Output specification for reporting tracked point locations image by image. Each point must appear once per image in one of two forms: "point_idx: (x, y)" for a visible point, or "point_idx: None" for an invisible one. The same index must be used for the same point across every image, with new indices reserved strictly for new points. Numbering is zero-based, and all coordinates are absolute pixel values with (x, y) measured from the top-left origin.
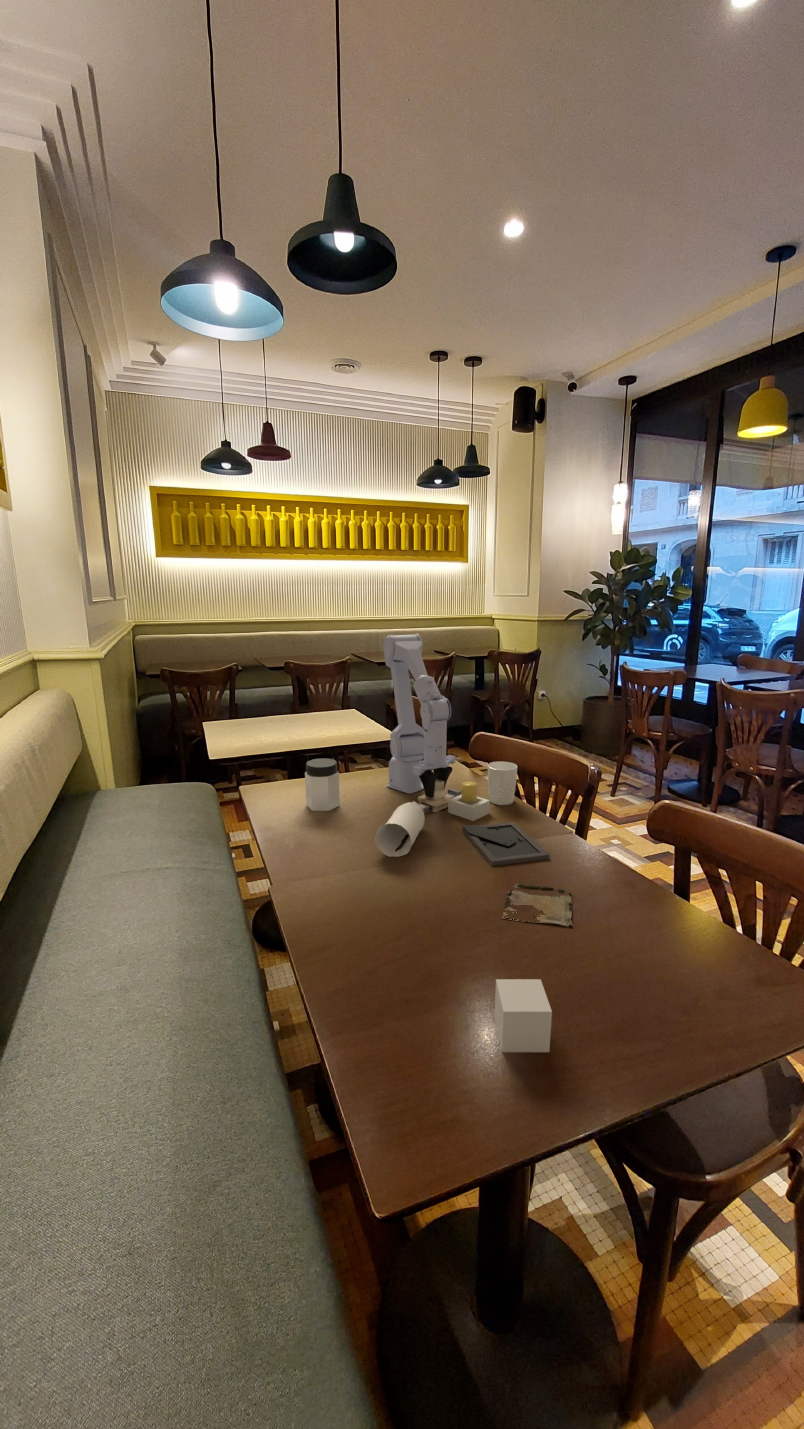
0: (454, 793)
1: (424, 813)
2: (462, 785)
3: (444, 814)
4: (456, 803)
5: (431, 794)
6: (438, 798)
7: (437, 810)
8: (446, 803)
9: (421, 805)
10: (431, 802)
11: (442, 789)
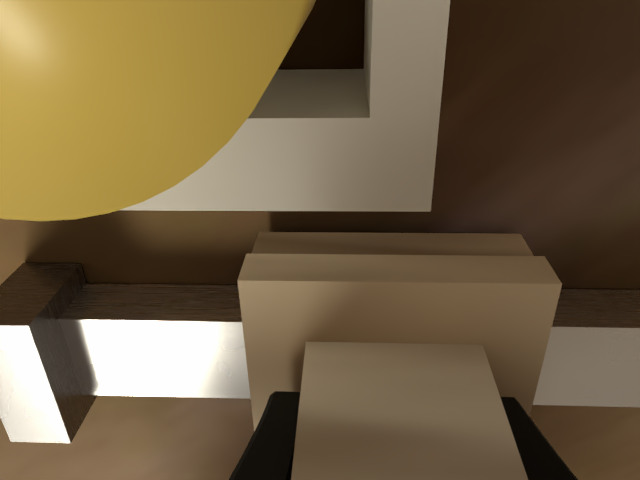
0: (57, 351)
1: (603, 291)
2: (284, 49)
3: (482, 135)
4: (443, 27)
5: (542, 437)
6: (417, 350)
7: (483, 237)
8: (323, 256)
9: (565, 390)
10: (543, 344)
11: (333, 433)
